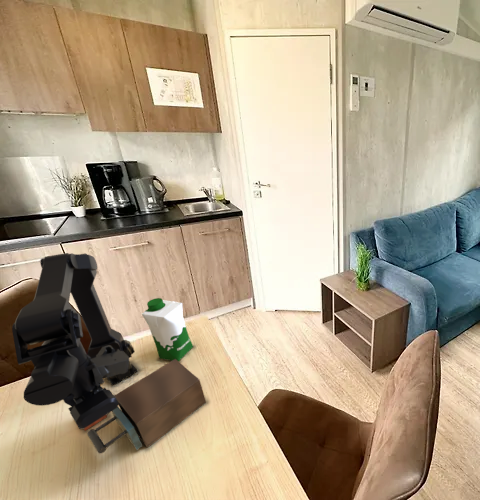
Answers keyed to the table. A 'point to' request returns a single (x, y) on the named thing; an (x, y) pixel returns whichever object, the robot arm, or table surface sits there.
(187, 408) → the cabinet
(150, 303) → the milk carton
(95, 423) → the block
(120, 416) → the drawer
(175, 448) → the table surface
